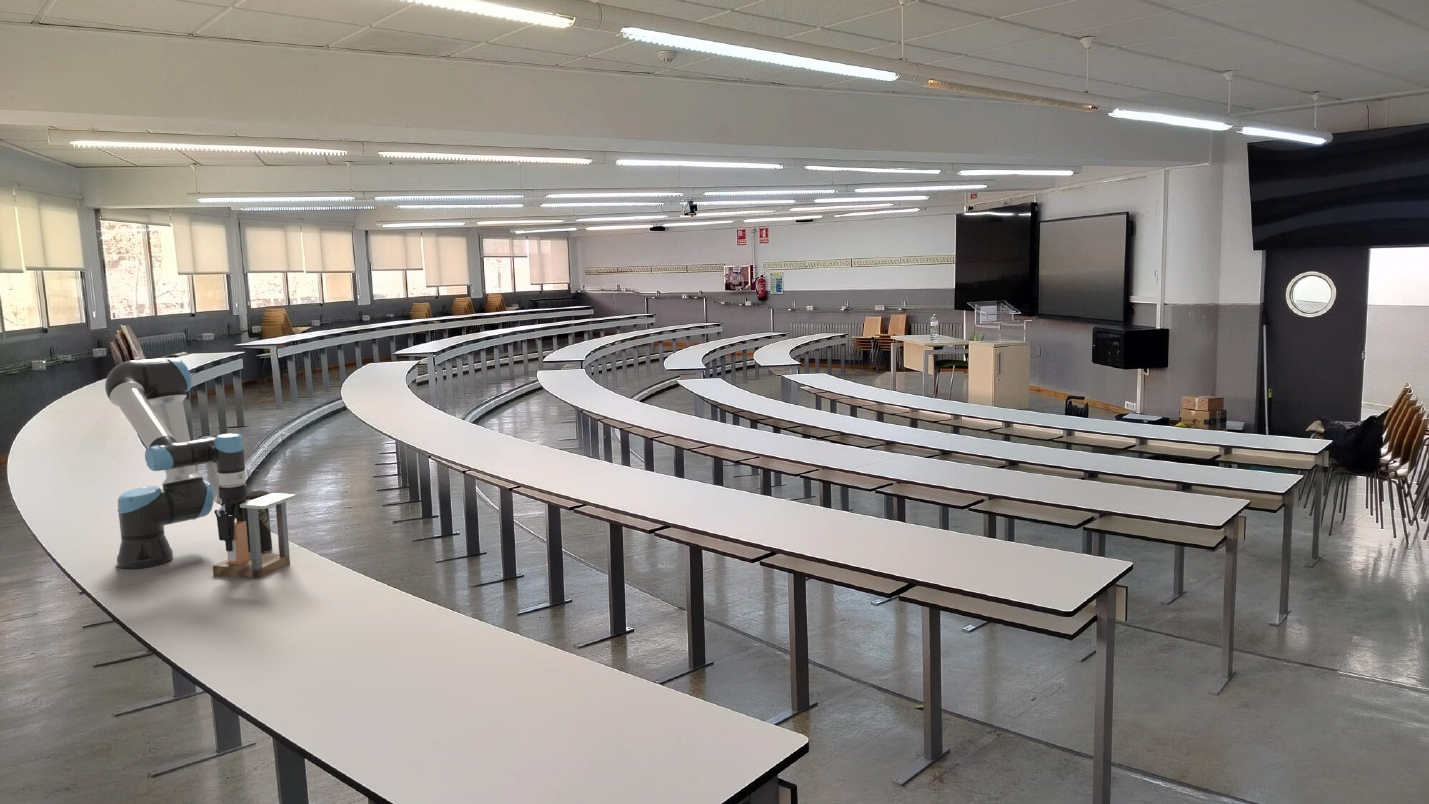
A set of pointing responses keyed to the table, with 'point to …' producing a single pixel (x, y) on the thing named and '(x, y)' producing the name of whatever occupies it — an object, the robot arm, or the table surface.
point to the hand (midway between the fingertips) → (238, 558)
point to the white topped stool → (253, 524)
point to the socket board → (245, 570)
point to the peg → (240, 543)
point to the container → (262, 522)
